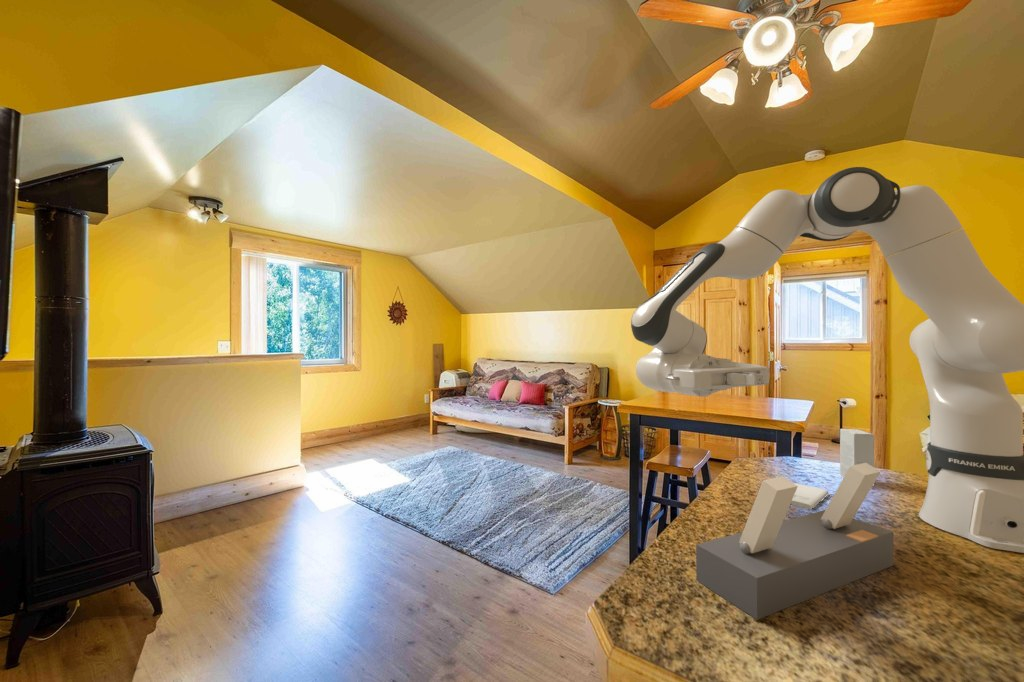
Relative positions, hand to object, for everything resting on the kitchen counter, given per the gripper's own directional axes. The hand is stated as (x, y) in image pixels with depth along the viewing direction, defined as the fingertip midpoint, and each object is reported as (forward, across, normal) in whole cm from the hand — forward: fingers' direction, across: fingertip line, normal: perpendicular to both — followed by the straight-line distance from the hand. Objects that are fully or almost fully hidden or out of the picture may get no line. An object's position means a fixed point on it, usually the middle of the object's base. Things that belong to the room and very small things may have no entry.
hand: (759, 379), depth 74 cm
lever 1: (+12, -18, +21) cm, 30 cm away
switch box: (+12, -9, +27) cm, 31 cm away
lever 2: (+12, 0, +21) cm, 24 cm away
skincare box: (-8, +44, +27) cm, 52 cm away
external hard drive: (-7, +21, +28) cm, 35 cm away
